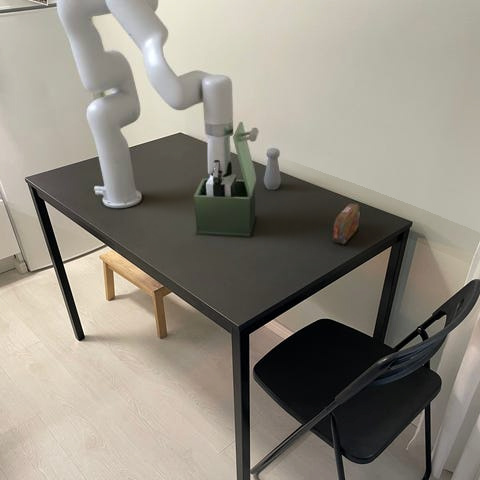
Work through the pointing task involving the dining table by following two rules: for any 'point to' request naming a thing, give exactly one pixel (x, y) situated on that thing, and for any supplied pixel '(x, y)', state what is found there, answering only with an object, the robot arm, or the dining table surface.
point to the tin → (347, 223)
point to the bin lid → (245, 155)
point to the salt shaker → (272, 170)
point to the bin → (224, 212)
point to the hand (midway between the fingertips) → (221, 191)
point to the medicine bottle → (228, 181)
